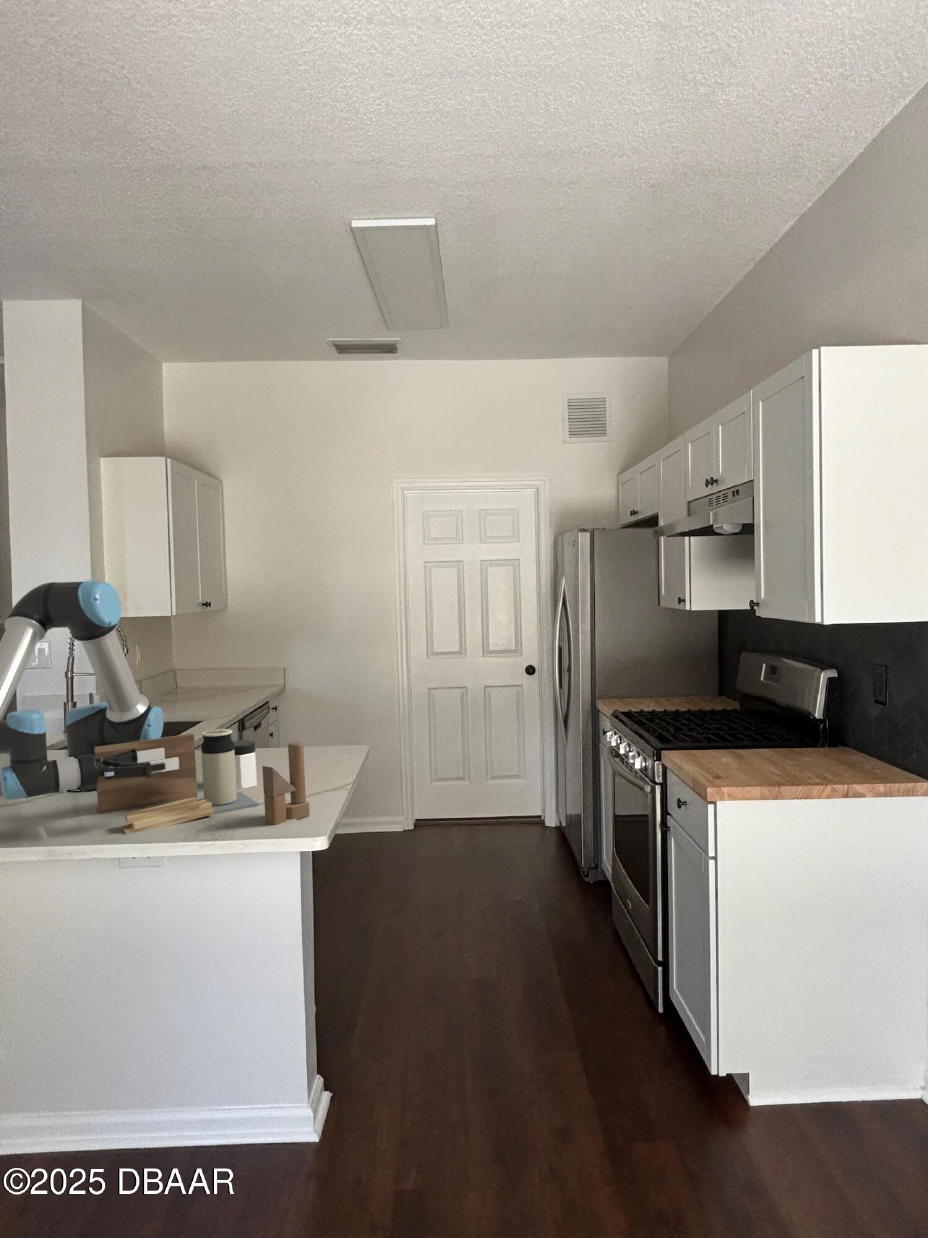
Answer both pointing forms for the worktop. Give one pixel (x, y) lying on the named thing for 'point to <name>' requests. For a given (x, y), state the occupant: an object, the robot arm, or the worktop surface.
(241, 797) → the mat
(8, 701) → the robot arm
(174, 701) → the worktop surface
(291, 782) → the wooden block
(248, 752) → the jar
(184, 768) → the wooden board
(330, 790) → the worktop surface
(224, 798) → the travel mug
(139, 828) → the offcut stack
